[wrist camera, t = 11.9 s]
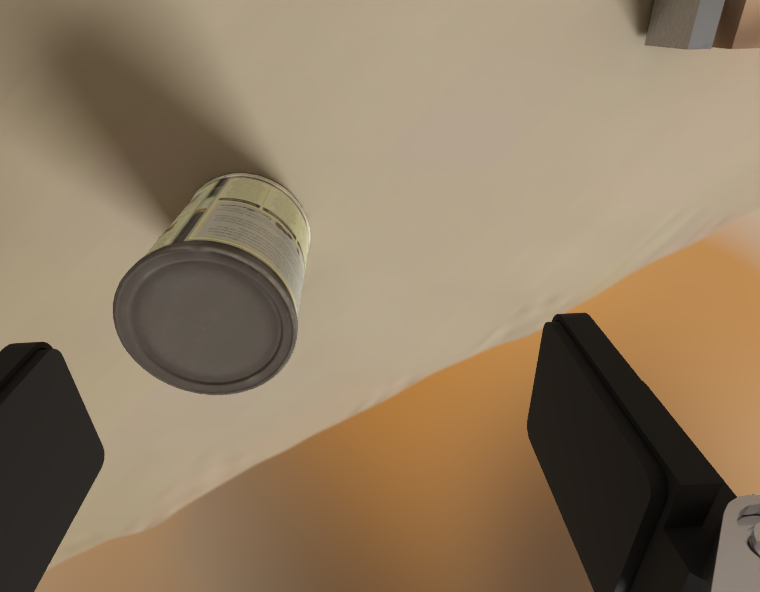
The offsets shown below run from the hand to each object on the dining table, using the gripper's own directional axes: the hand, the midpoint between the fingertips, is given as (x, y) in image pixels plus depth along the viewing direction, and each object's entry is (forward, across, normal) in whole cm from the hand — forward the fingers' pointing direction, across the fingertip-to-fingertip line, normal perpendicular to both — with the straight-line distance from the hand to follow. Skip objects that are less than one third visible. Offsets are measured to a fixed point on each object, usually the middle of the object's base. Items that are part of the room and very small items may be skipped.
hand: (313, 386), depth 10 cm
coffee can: (+31, +8, +9) cm, 33 cm away
